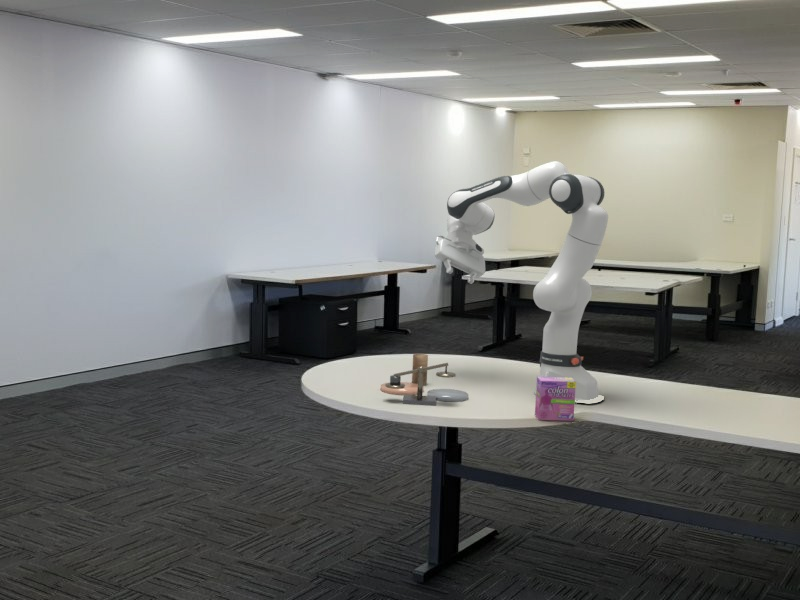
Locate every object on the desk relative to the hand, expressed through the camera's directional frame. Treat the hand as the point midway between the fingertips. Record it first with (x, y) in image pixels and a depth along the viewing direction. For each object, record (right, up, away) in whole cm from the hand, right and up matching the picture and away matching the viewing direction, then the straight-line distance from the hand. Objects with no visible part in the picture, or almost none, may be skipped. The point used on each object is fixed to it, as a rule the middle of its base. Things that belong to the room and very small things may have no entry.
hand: (460, 277), depth 286 cm
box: (+24, -42, -42) cm, 64 cm away
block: (-14, -36, -3) cm, 39 cm away
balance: (-15, -39, -29) cm, 50 cm away
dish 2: (-5, -38, -20) cm, 44 cm away
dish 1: (-20, -37, -13) cm, 44 cm away
